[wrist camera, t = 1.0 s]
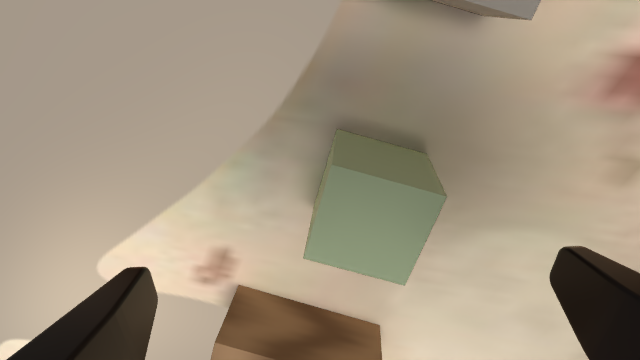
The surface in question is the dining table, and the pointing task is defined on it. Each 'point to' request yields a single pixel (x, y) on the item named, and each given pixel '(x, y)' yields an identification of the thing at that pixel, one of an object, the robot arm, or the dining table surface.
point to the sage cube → (373, 208)
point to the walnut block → (291, 331)
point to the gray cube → (497, 7)
